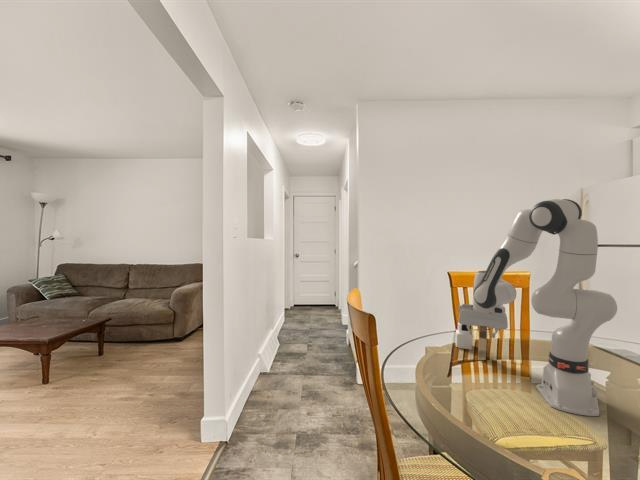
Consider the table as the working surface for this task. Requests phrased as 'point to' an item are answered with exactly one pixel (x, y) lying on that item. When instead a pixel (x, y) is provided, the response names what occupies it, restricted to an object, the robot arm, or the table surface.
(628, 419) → the table surface
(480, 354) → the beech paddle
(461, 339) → the medicine bottle
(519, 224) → the robot arm
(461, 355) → the table surface
